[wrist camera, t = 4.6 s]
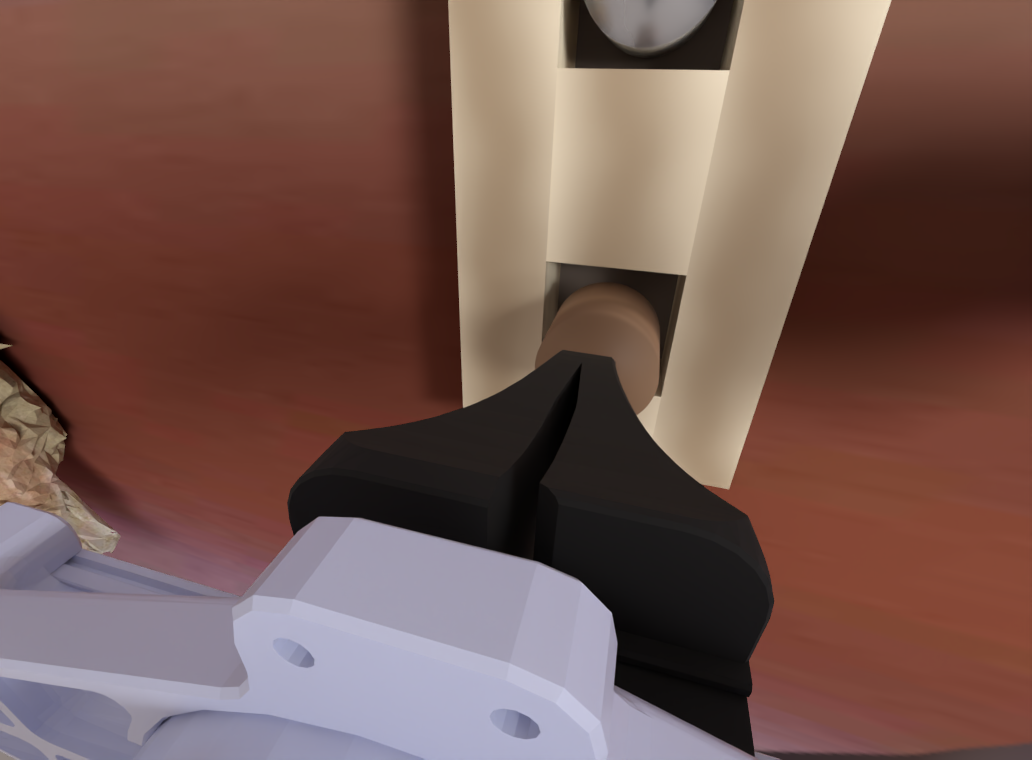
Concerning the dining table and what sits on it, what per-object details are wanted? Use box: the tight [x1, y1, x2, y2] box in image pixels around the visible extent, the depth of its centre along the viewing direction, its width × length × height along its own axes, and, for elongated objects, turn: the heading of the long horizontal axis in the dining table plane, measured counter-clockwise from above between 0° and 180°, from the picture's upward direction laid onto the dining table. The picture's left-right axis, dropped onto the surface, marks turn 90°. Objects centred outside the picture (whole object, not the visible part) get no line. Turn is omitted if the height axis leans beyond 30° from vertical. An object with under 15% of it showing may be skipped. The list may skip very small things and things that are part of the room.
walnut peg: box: [535, 282, 660, 415], centre depth 17 cm, size 4×4×3 cm
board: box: [448, 0, 891, 489], centre depth 17 cm, size 12×24×4 cm, turn 179°
